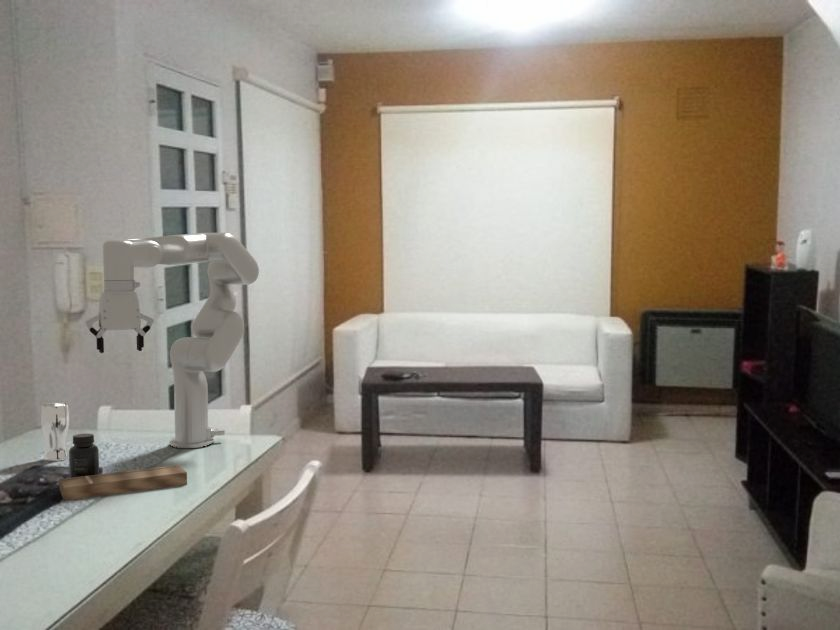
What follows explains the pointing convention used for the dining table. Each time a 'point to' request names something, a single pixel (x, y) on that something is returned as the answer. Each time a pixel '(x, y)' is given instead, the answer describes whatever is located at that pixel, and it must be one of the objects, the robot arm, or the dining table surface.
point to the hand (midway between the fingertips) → (120, 351)
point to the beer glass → (55, 430)
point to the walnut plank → (122, 482)
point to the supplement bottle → (83, 456)
